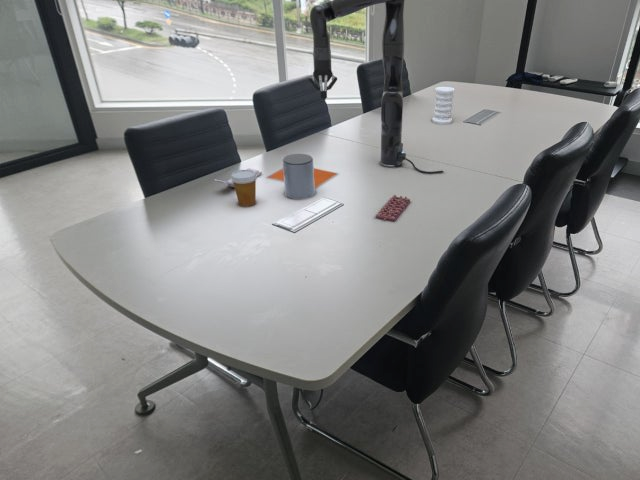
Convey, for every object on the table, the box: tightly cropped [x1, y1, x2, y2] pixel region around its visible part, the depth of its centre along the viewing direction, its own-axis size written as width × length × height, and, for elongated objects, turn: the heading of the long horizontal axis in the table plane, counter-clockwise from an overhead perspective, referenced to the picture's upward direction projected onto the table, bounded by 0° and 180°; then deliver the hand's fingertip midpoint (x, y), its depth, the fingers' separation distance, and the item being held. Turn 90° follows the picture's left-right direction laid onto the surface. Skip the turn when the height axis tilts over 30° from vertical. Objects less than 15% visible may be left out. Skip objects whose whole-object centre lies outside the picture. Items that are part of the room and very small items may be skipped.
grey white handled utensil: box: [214, 168, 263, 188], centre depth 212 cm, size 6×6×25 cm
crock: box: [281, 153, 316, 200], centre depth 202 cm, size 12×12×15 cm
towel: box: [268, 168, 338, 188], centre depth 221 cm, size 24×18×1 cm
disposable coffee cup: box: [230, 169, 258, 207], centre depth 194 cm, size 10×10×12 cm
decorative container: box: [431, 86, 455, 125], centre depth 289 cm, size 12×12×18 cm
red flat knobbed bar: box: [375, 194, 411, 222], centre depth 193 cm, size 7×19×2 cm, turn 158°
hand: (323, 99), depth 226 cm, fingers closed
